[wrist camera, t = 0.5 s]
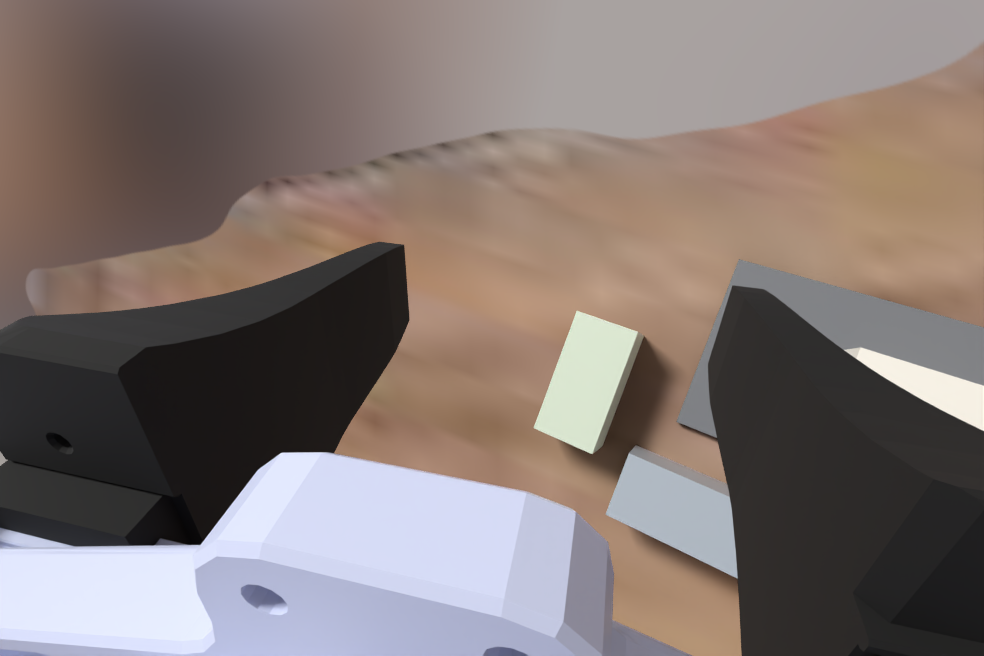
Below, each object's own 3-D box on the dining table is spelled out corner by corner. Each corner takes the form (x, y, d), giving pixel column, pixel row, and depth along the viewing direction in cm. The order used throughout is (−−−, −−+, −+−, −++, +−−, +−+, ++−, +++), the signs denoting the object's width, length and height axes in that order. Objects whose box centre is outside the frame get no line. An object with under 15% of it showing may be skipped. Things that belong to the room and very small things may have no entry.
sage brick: (588, 316, 38) (576, 310, 34) (644, 336, 36) (638, 331, 32) (549, 422, 38) (533, 427, 34) (603, 445, 37) (592, 454, 33)
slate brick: (761, 498, 33) (769, 514, 29) (738, 557, 33) (743, 581, 29) (636, 444, 36) (628, 453, 32) (615, 499, 36) (605, 514, 32)
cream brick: (1007, 403, 28) (1054, 407, 25) (978, 472, 29) (1020, 487, 25) (841, 350, 31) (860, 347, 28) (815, 413, 32) (831, 419, 28)
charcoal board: (1202, 391, 26) (1213, 391, 26) (1112, 595, 27) (1121, 599, 26) (738, 261, 34) (739, 259, 34) (676, 420, 35) (676, 421, 34)
